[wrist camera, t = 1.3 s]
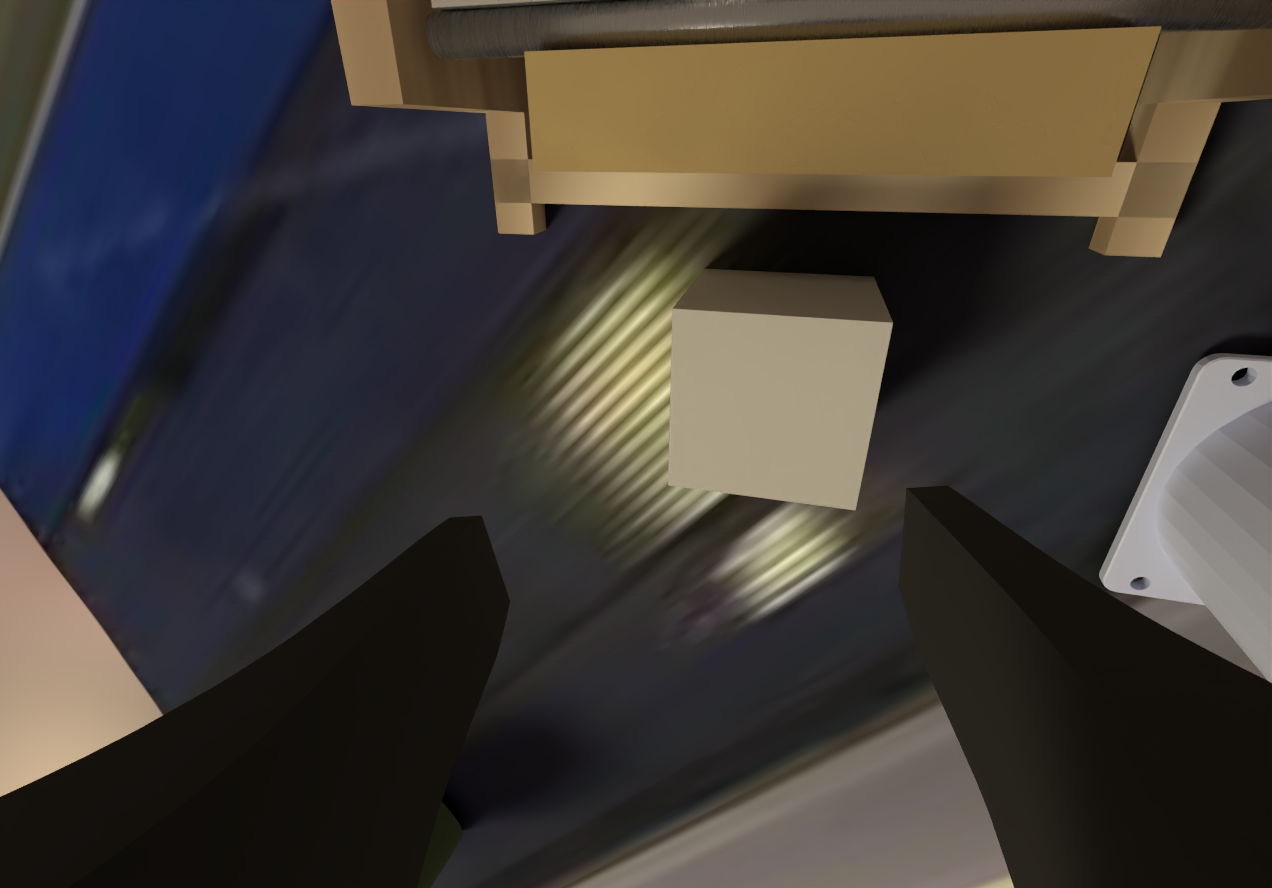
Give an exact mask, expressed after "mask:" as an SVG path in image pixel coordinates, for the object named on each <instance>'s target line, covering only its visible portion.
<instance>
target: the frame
mask: <svg viewBox="0 0 1272 888" xmlns="http://www.w3.org/2000/svg"><path fill="white" fill-rule="evenodd" d="M331 3H332V8H333V13H334V18H335V23H336V28H337V33H338V38H339V43H340V48H341V53H342V58H343V63H344V69H345V74H346V79H347V84H348V89H349V94H350V99H351V104H352V105H356V106H374V107H391V108H408V109H425V110H442V111H459V112H477V113H486V122H487V131H488V140H489V150H490V159H491V168H492V178H493V187H494V196H495V206H496V215H497V224H498V233H505V234H533V235H534V234H537V233H539V232H542V231H545V230H546V219H545V205H544V204H582V205H626V206H669V207H712V208H755V209H798V210H841V211H884V212H927V213H970V214H1013V215H1056V216H1099V219H1098V222H1097V225H1096V228H1095V231H1094V234H1093V237H1092V240H1091V243H1090V246H1089V249H1091V250H1093V251H1096V252H1098V253H1101V254H1103V255H1114V256H1142V257H1161V255H1162V252H1163V249H1164V247H1165V244H1166V242H1167V239H1168V237H1169V234H1170V232H1171V229H1172V227H1173V224H1174V222H1175V219H1176V216H1177V214H1178V211H1179V209H1180V206H1181V204H1182V201H1183V199H1184V196H1185V194H1186V191H1187V188H1188V186H1189V183H1190V181H1191V178H1192V176H1193V173H1194V171H1195V168H1196V166H1197V163H1198V161H1199V158H1200V155H1201V153H1202V150H1203V148H1204V145H1205V143H1206V140H1207V138H1208V135H1209V133H1210V130H1211V127H1212V125H1213V122H1214V120H1215V117H1216V115H1217V112H1218V110H1219V107H1220V105H1221V102H1233V101H1246V100H1260V99H1272V29H1258V30H1232V31H1205V32H1178V33H1161V35H1160V38H1159V41H1158V44H1157V47H1156V50H1155V52H1154V55H1153V58H1152V61H1151V64H1150V67H1149V70H1148V73H1147V76H1146V79H1145V82H1144V85H1143V88H1142V91H1141V94H1140V97H1139V100H1138V103H1137V106H1136V109H1135V112H1134V115H1133V118H1132V121H1131V124H1130V127H1129V130H1128V133H1127V136H1126V139H1125V142H1124V145H1123V148H1122V151H1121V154H1120V156H1119V159H1118V161H1116V164H1115V167H1114V170H1113V173H1112V176H1111V177H1041V176H941V175H841V174H740V173H640V172H540V171H533V158H532V145H531V133H530V120H529V107H528V94H527V81H526V68H525V57H514V58H487V59H460V60H439V59H437V58H436V57H435V55H434V54H433V52H432V51H431V48H430V46H429V43H428V39H427V34H426V20H427V16H428V14H429V13H430V12H437V11H440V10H437V9H434V8H432V3H431V0H331Z"/></svg>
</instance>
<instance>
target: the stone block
mask: <svg viewBox="0 0 1272 888" xmlns="http://www.w3.org/2000/svg"><path fill="white" fill-rule="evenodd" d="M892 326H893V321H892V319H891V317H890V314H889V312H888V309H887V307H886V305H885V302H884V300H883V298H882V295H881V293H880V290H879V288H878V286H877V283H876V281H875V279H874V277H869V276H848V275H827V274H806V273H785V272H764V271H743V270H722V269H704V270H703V271H702V272H701V274H700V275H699V276H698V277H697V279H696V280H695V281H694V282H693V284H692V285H691V286H690V287H689V289H688V290H687V291H686V292H685V294H684V295H683V296H682V297H681V299H680V300H679V301H678V302H677V304H676V305H675V306H674V307H673V311H672V352H671V393H670V434H669V475H668V485H670V486H677V487H685V488H692V489H700V490H707V491H715V492H722V493H730V494H737V495H745V496H752V497H760V498H767V499H775V500H782V501H790V502H797V503H805V504H812V505H820V506H827V507H835V508H842V509H849V510H856V505H857V500H858V495H859V490H860V485H861V480H862V475H863V470H864V465H865V460H866V455H867V450H868V445H869V440H870V436H871V431H872V426H873V421H874V416H875V411H876V406H877V401H878V396H879V391H880V386H881V381H882V376H883V371H884V366H885V361H886V356H887V351H888V346H889V341H890V336H891V331H892Z"/></svg>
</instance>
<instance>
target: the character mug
mask: <svg viewBox="0 0 1272 888" xmlns="http://www.w3.org/2000/svg"><path fill="white" fill-rule="evenodd" d="M462 836H463V832H462V829H461V826H460V824H459V822H458V821H457V820H456V818H455V817H454V816H453V814H452V813H451V812H450V811H449V809H448V808H447V807H446V806H445V805H444V804H443V803H442V801H441V804H440V808H439V811H438V815H437V818H436V822H435V825H434V829H433V832H432V836H431V839H430V843H429V846H428V850H427V853H426V857H425V860H424V864H423V867H422V871H421V875H420V879H419V883H418V887H417V888H430V887H431V886H432V884H433V883H434V881H435V880H436V878H437V877H438V875H439V874H440V872H441V871H442V869H443V868H444V866H445V864H446V863H447V861H448V859H449V858H450V856H451V854H452V853H453V851H454V849H455V848H456V846H457V844H458V843H459V841H460V839H461V838H462Z"/></svg>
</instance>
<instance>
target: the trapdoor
mask: <svg viewBox="0 0 1272 888" xmlns="http://www.w3.org/2000/svg"><path fill="white" fill-rule="evenodd" d="M431 3H432V8H434V9H437V10H440V11H437V12H430V13H429V14H428V16H427V20H426V34H427V39H428V43H429V46H430V48H431V51H432V52H433V54H434V55H435V57H436V58H437V59H439V60H460V59H487V58H514V57H525V68H526V81H527V94H528V107H529V120H530V133H531V145H532V158H533V171H540V172H640V173H740V174H841V175H941V176H1041V177H1111V176H1112V173H1113V170H1114V167H1115V164H1116V161H1117V158H1118V155H1119V152H1120V149H1121V146H1122V143H1123V140H1124V137H1125V134H1126V131H1127V128H1128V125H1129V122H1130V119H1131V116H1132V113H1133V110H1134V107H1135V105H1136V102H1137V99H1138V96H1139V93H1140V90H1141V87H1142V84H1143V81H1144V78H1145V75H1146V72H1147V69H1148V66H1149V63H1150V60H1151V57H1152V54H1153V51H1154V48H1155V45H1156V42H1157V39H1158V36H1159V33H1178V32H1205V31H1232V30H1258V29H1272V0H431Z"/></svg>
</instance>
